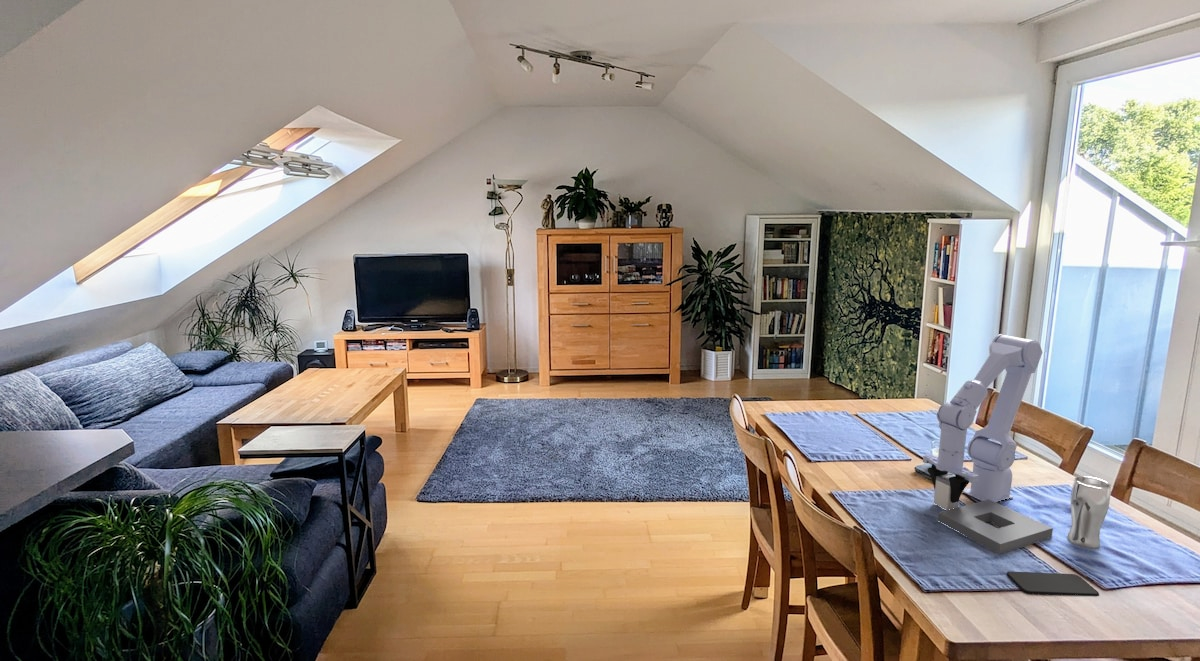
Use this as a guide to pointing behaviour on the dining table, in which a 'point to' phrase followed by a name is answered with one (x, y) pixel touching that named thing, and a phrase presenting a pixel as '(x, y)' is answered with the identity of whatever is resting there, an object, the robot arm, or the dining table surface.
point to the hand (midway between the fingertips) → (946, 497)
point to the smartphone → (1051, 584)
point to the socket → (1000, 540)
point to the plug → (944, 492)
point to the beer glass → (1088, 510)
